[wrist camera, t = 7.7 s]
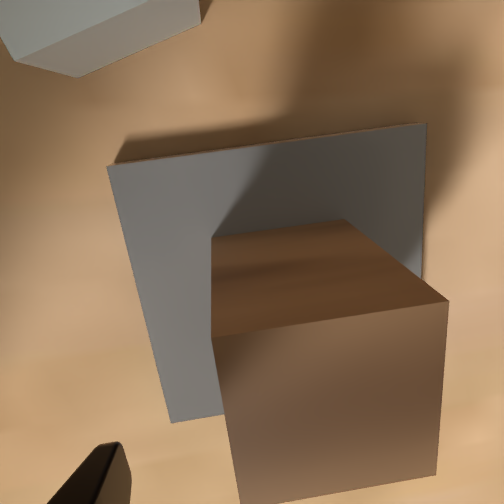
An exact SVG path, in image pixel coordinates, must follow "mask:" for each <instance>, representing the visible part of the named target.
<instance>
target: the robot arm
mask: <svg viewBox="0 0 504 504" xmlns="http://www.w3.org/2000/svg"><path fill="white" fill-rule="evenodd" d="M131 484H132V478H131V471H130V468H129V465H128V462H127V459H126V455H125V452H124V449H123V446H122V444H121V443H120V442H111V443H105V444H100V445H98V446H97V447H96V448H95V449H94V450H93V451H92V452H91V453H90V454H89V455H88V457H87V458H86V459H85V460H84V461H83V462H82V464H81V465H80V466H79V467H78V468H77V469H76V470H75V472H74V473H73V474H72V475H71V476H70V477H69V479H68V480H67V481H66V482H65V483H64V484H63V485H62V487H61V488H60V489H59V490H58V491H57V492H56V494H55V495H54V496H53V497H52V498H51V499H50V500H49V502H48V503H47V504H130V495H131Z"/></svg>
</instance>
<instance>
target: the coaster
mask: <svg viewBox="0 0 504 504" xmlns="http://www.w3.org/2000/svg"><path fill="white" fill-rule="evenodd" d="M426 135H427V123H409V124H402V125H394V126H387V127H380V128H372V129H365V130H357V131H350V132H342V133H335V134H327V135H320V136H312V137H305V138H297V139H290V140H283V141H275V142H268V143H260V144H253V145H245V146H238V147H230V148H223V149H215V150H208V151H201V152H193V153H186V154H178V155H171V156H163V157H156V158H148V159H141V160H133V161H126V162H119V163H112V164H110V165H108V166H106V167H107V171H108V175H109V179H110V183H111V187H112V191H113V195H114V199H115V203H116V207H117V211H118V215H119V219H120V223H121V227H122V231H123V235H124V239H125V243H126V246H127V250H128V254H129V258H130V262H131V266H132V270H133V274H134V278H135V282H136V286H137V290H138V294H139V298H140V302H141V306H142V310H143V314H144V318H145V322H146V326H147V330H148V334H149V338H150V342H151V346H152V350H153V354H154V358H155V362H156V366H157V370H158V374H159V378H160V382H161V386H162V389H163V393H164V397H165V401H166V405H167V409H168V413H169V417H170V421H171V423H176V422H182V421H188V420H194V419H199V418H205V417H211V416H217V415H223V414H224V409H223V403H222V397H221V392H220V386H219V381H218V375H217V369H216V364H215V358H214V352H213V347H212V341H211V238H213V237H220V236H227V235H234V234H241V233H248V232H255V231H263V230H270V229H277V228H284V227H291V226H298V225H305V224H313V223H320V222H327V221H334V220H341V219H345V220H346V221H348V222H349V223H350V224H352V225H353V226H354V227H355V228H357V229H358V230H359V231H360V232H362V233H363V234H364V235H366V236H367V237H368V238H369V239H371V240H372V241H373V242H375V243H376V244H377V245H378V246H380V247H381V248H382V249H383V250H385V251H386V252H387V253H389V254H390V255H391V256H392V257H394V258H395V259H396V260H397V261H399V262H400V263H401V264H403V265H404V266H405V267H406V268H408V269H409V270H410V271H411V272H413V273H414V274H415V275H417V276H418V277H419V278H420V279H421V265H422V239H423V213H424V187H425V161H426Z"/></svg>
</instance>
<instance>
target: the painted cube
mask: <svg viewBox="0 0 504 504" xmlns="http://www.w3.org/2000/svg"><path fill="white" fill-rule="evenodd" d="M199 24H201V16H200V7H199V0H0V37H1V39H2V41H3V43H4V44H5V46H6V48H7V50H8V51H9V53H10V55H11V57H12V58H13V60H14V61H15V62H19V63H23V64H27V65H30V66H34V67H38V68H42V69H45V70H49V71H53V72H56V73H60V74H64V75H68V76H71V77H75V78H80V77H82V76H84V75H87V74H89V73H91V72H93V71H96V70H98V69H100V68H102V67H105V66H107V65H109V64H111V63H114V62H116V61H118V60H120V59H123V58H125V57H127V56H129V55H132V54H134V53H136V52H138V51H141V50H143V49H145V48H148V47H150V46H152V45H154V44H157V43H159V42H161V41H163V40H166V39H168V38H170V37H172V36H175V35H177V34H179V33H181V32H184V31H186V30H188V29H190V28H193V27H195V26H197V25H199Z"/></svg>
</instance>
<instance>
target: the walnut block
mask: <svg viewBox="0 0 504 504" xmlns="http://www.w3.org/2000/svg"><path fill="white" fill-rule="evenodd" d="M448 310H449V301H448V300H447V299H446V298H445V297H443V296H442V295H441V294H440V293H438V292H437V291H436V290H434V289H433V288H432V287H431V286H429V285H428V284H427V283H426V282H424V281H423V280H422V279H420V278H419V277H418V276H417V275H415V274H414V273H413V272H411V271H410V270H409V269H408V268H406V267H405V266H404V265H403V264H401V263H400V262H399V261H397V260H396V259H395V258H394V257H392V256H391V255H390V254H389V253H387V252H386V251H385V250H383V249H382V248H381V247H380V246H378V245H377V244H376V243H375V242H373V241H372V240H371V239H369V238H368V237H367V236H366V235H364V234H363V233H362V232H360V231H359V230H358V229H357V228H355V227H354V226H353V225H352V224H350V223H349V222H348V221H346V220H345V219H341V220H334V221H327V222H320V223H313V224H305V225H298V226H291V227H284V228H277V229H270V230H263V231H255V232H248V233H241V234H234V235H227V236H220V237H213V238H211V341H212V347H213V352H214V358H215V364H216V369H217V375H218V381H219V386H220V392H221V397H222V403H223V409H224V414H225V420H226V425H227V431H228V437H229V442H230V448H231V454H232V459H233V465H234V470H235V476H236V482H237V487H238V493H239V499H240V504H278V503H284V502H289V501H295V500H300V499H306V498H311V497H317V496H322V495H328V494H334V493H339V492H345V491H350V490H356V489H361V488H367V487H373V486H378V485H384V484H389V483H395V482H400V481H406V480H411V479H417V478H423V477H428V476H434V475H436V469H437V456H438V443H439V430H440V416H441V403H442V390H443V377H444V363H445V350H446V337H447V324H448Z"/></svg>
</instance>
